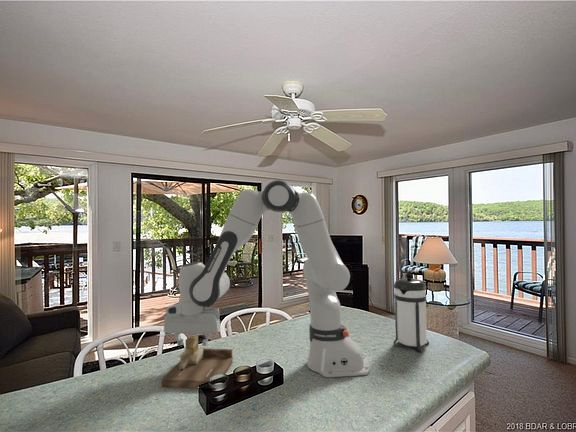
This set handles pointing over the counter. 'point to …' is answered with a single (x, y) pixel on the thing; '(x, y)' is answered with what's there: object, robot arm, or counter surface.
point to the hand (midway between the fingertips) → (192, 345)
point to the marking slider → (191, 352)
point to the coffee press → (410, 312)
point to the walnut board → (199, 369)
